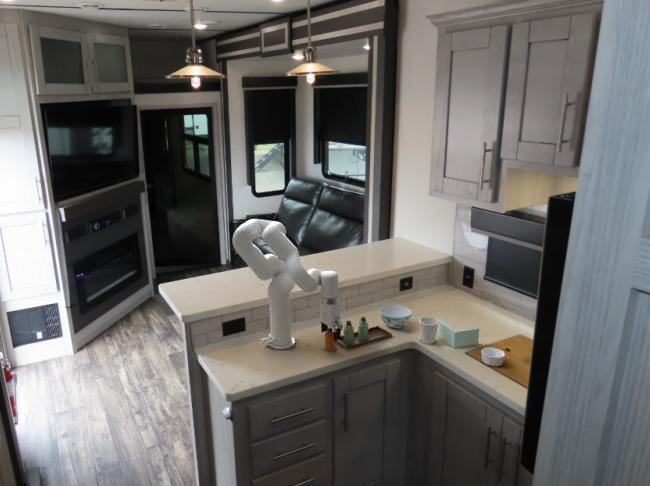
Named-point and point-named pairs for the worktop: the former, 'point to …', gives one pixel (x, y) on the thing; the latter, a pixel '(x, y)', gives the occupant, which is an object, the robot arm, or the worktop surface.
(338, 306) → the robot arm
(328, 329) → the amber bottle
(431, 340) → the dixie cup
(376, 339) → the tray
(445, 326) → the l-shaped corner panel
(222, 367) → the worktop surface
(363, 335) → the green bottle
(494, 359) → the ramekin
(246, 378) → the worktop surface
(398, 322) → the chinaware
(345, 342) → the green bottle
